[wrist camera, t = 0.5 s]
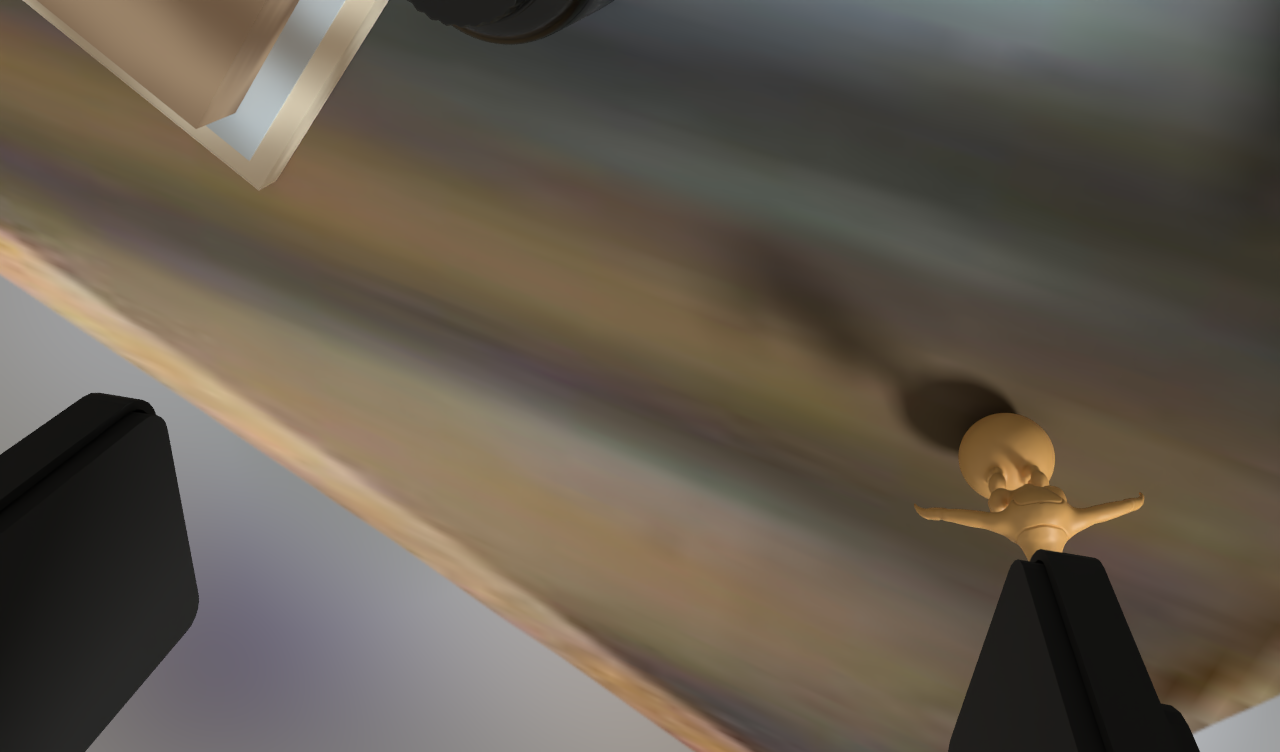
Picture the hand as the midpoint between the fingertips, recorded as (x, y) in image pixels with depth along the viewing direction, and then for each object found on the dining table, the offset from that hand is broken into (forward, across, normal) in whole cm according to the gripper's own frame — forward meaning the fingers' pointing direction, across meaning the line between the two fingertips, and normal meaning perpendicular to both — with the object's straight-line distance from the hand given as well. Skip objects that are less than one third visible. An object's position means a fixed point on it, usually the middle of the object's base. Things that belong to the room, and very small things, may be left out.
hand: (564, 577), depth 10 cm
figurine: (+32, -13, +14) cm, 37 cm away
